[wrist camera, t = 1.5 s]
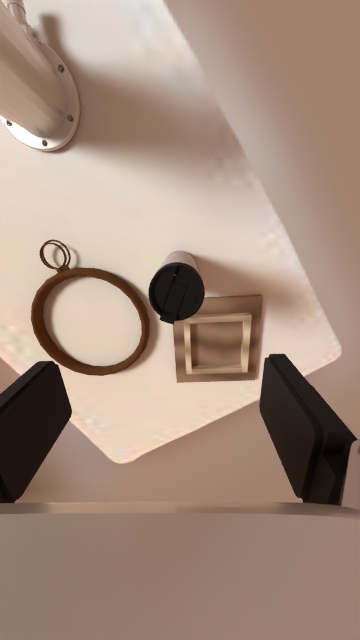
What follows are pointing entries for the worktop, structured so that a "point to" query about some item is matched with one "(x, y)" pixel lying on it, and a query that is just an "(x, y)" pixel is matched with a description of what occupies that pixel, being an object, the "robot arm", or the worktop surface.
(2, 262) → the worktop surface
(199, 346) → the walnut coaster board
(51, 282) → the decorative ring
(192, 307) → the travel mug
